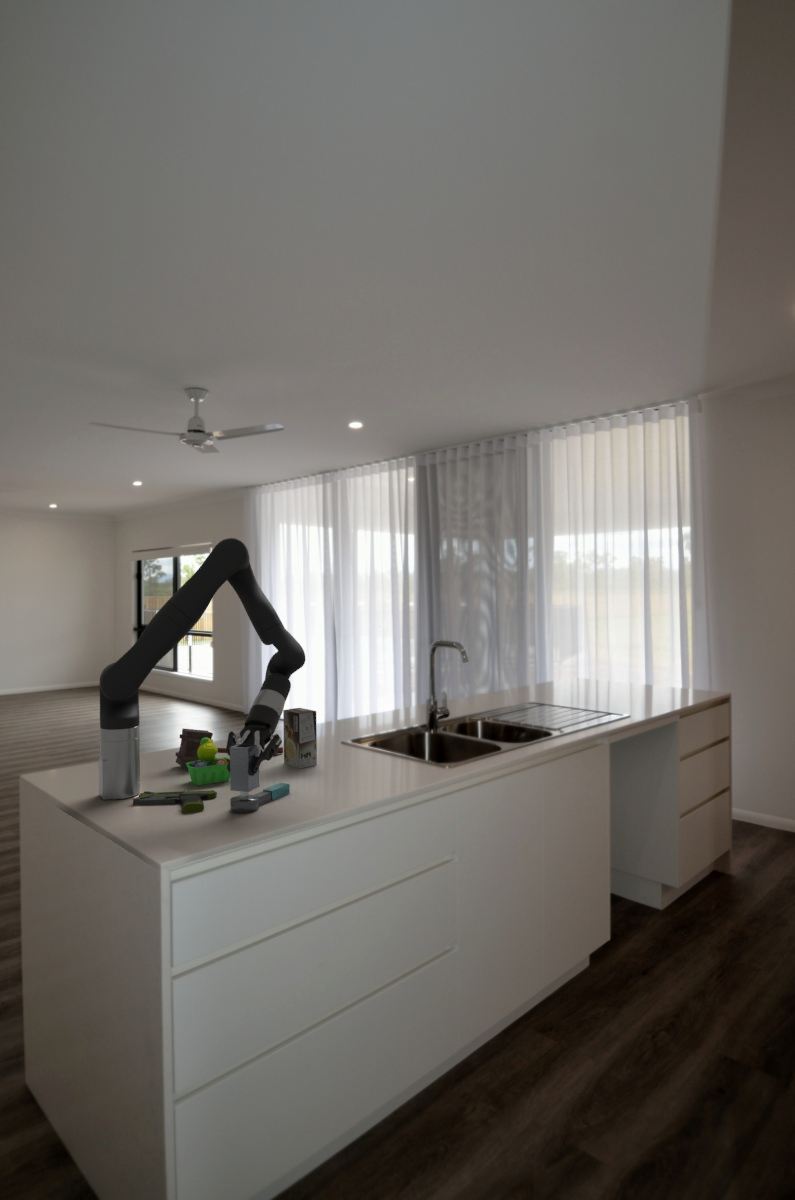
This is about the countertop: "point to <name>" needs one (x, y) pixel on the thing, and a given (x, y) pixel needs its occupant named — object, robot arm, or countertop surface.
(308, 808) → the countertop surface
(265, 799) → the ratchet
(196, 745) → the hammer
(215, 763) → the fruit basket
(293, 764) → the coffee box
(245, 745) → the grey hollow square tube
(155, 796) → the gun
